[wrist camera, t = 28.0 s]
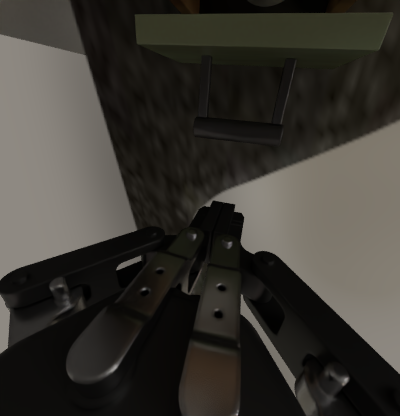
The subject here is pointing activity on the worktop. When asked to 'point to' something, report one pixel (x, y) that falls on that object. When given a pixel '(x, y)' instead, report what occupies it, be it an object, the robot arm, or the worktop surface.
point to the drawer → (259, 51)
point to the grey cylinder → (265, 2)
